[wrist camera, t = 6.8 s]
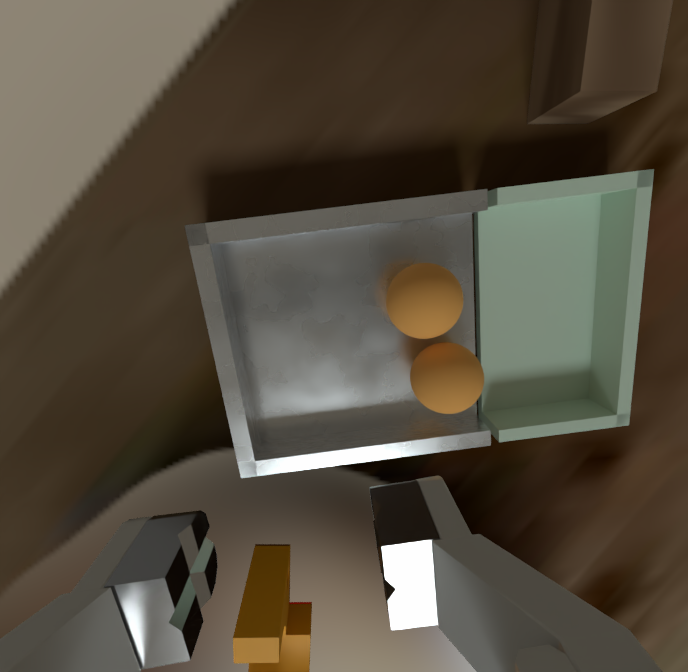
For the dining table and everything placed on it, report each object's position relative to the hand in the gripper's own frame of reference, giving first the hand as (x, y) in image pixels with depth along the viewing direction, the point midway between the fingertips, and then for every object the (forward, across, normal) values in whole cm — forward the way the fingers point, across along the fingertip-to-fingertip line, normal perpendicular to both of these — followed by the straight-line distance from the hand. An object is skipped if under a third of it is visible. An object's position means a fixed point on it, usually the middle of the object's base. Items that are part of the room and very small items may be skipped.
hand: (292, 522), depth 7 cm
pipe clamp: (+16, +5, +21) cm, 27 cm away
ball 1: (+12, -6, -2) cm, 14 cm away
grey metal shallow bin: (+15, -2, 0) cm, 15 cm away
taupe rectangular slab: (+15, -16, -16) cm, 27 cm away
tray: (+15, -14, 0) cm, 21 cm away
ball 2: (+12, -7, +2) cm, 14 cm away
